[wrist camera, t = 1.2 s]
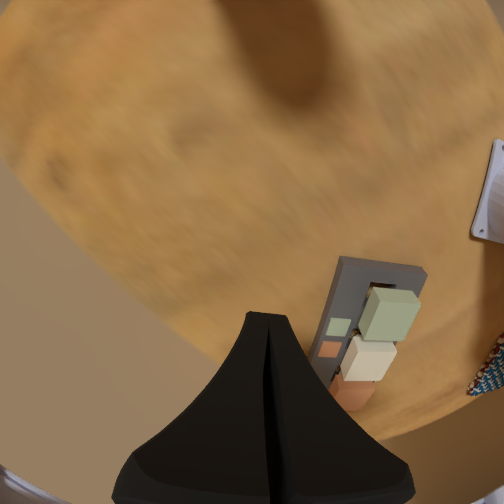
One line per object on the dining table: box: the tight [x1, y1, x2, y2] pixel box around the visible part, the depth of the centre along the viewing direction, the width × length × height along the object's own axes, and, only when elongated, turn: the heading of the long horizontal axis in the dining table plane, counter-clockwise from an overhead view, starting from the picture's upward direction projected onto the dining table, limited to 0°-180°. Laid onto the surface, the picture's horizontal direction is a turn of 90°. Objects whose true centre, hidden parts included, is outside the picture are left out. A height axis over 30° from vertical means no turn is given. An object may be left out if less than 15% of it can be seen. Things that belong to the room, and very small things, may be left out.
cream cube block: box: [340, 334, 397, 381], centre depth 21 cm, size 3×3×3 cm
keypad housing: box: [308, 256, 428, 389], centre depth 23 cm, size 7×13×1 cm, turn 173°
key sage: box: [358, 287, 421, 341], centre depth 19 cm, size 3×3×3 cm
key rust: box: [328, 370, 375, 411], centre depth 23 cm, size 3×3×3 cm
